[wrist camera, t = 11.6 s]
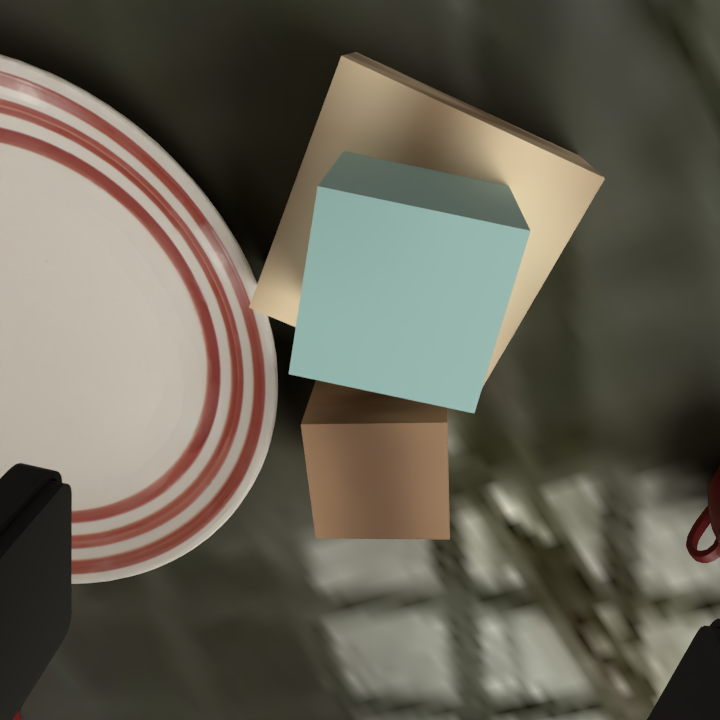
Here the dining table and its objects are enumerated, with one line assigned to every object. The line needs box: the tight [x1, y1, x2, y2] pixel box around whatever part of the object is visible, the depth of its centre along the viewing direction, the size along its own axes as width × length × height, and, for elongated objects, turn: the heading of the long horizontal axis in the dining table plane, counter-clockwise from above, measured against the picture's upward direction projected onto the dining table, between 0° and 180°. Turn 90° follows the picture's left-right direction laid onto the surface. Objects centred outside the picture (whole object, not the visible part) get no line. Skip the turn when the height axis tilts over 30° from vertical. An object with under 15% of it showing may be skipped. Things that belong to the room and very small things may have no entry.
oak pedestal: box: [249, 52, 605, 386], centre depth 27 cm, size 10×10×5 cm
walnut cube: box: [301, 380, 450, 539], centre depth 31 cm, size 6×6×6 cm
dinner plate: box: [0, 54, 278, 584], centre depth 33 cm, size 27×27×3 cm
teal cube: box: [289, 151, 530, 413], centre depth 23 cm, size 6×6×6 cm
